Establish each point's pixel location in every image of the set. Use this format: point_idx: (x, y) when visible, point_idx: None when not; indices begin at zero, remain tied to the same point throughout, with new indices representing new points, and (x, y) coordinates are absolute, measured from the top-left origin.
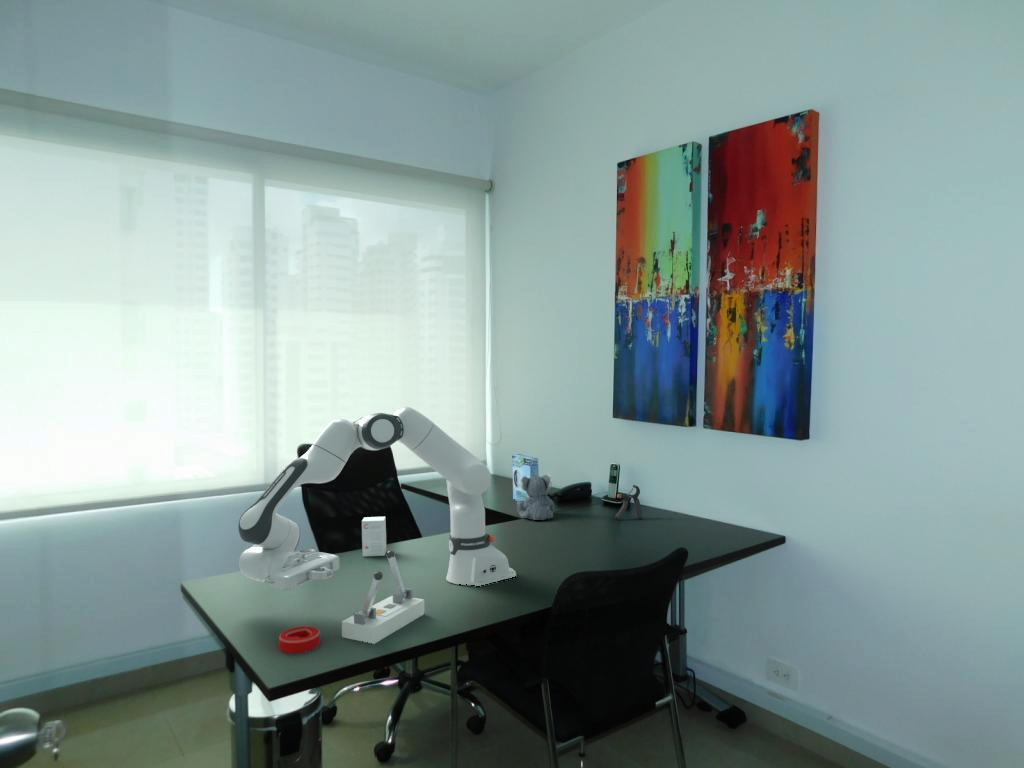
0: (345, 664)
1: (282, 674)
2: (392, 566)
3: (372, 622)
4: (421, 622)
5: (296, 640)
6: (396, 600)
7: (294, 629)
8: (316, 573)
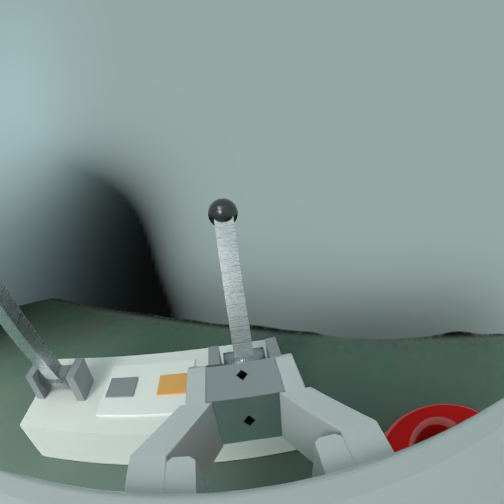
0: (380, 340)
1: (496, 359)
2: (13, 309)
3: None
4: None
5: (467, 410)
6: (85, 384)
7: None
8: (335, 406)
